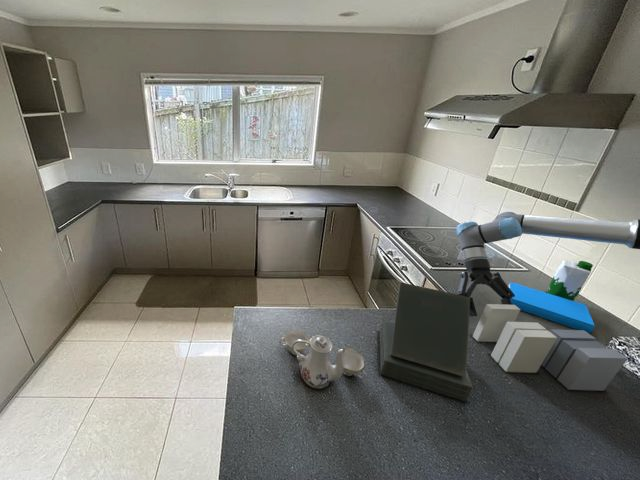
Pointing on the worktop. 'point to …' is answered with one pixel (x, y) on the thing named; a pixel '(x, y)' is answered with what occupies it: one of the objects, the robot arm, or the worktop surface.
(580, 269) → the milk carton
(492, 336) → the thin white book
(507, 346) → the white books
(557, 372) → the grey books
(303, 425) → the worktop surface
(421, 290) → the dark grey display stand
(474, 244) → the robot arm
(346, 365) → the chinaware
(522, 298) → the book
